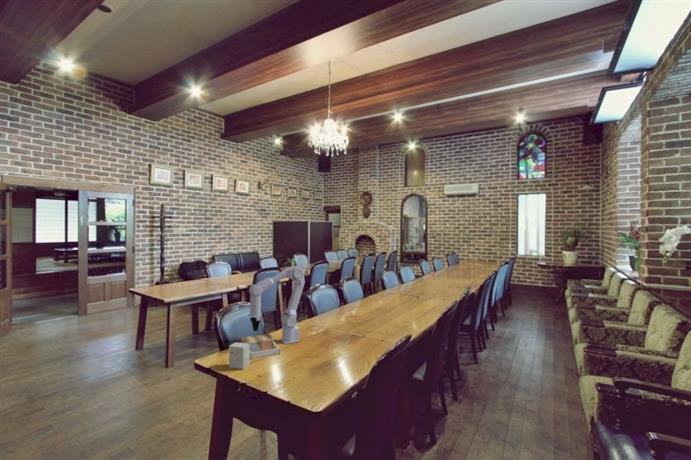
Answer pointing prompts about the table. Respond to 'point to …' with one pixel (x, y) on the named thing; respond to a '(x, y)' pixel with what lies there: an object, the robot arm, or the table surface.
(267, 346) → the terracotta tile
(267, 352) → the tray
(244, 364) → the small box
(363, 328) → the table surface
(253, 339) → the bench plate
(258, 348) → the slate tile
